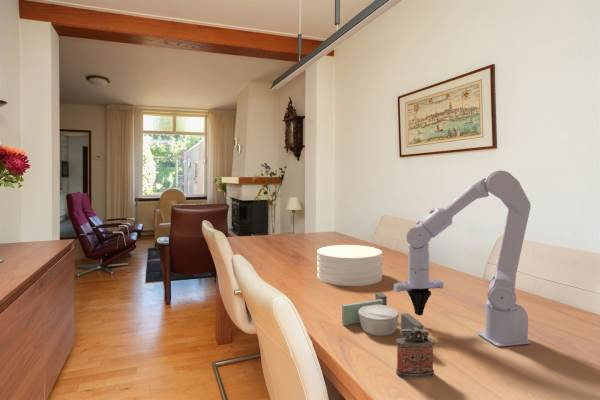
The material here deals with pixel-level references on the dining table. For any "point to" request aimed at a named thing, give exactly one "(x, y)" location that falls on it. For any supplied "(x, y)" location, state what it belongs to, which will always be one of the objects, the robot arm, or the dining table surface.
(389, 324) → the ramekin
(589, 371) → the dining table surface
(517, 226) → the robot arm
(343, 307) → the door
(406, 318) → the grey angled pieces
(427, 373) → the lighter
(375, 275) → the plate stack
